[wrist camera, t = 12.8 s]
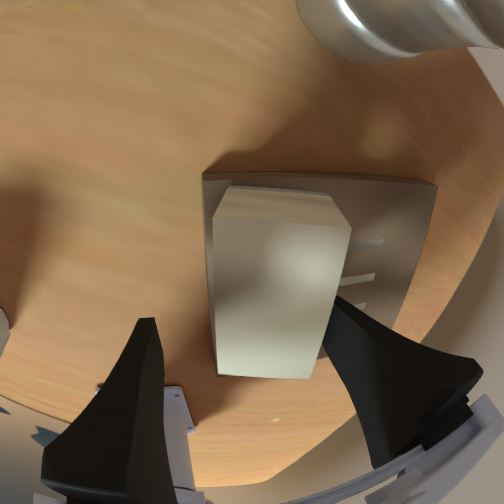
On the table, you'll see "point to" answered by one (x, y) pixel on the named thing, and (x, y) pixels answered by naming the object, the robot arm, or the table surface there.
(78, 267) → the table surface
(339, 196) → the grey flat square block
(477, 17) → the plastic bottle
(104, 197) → the table surface
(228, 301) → the block
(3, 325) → the photo printer
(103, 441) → the robot arm
